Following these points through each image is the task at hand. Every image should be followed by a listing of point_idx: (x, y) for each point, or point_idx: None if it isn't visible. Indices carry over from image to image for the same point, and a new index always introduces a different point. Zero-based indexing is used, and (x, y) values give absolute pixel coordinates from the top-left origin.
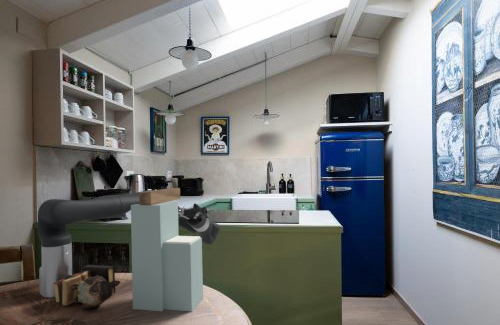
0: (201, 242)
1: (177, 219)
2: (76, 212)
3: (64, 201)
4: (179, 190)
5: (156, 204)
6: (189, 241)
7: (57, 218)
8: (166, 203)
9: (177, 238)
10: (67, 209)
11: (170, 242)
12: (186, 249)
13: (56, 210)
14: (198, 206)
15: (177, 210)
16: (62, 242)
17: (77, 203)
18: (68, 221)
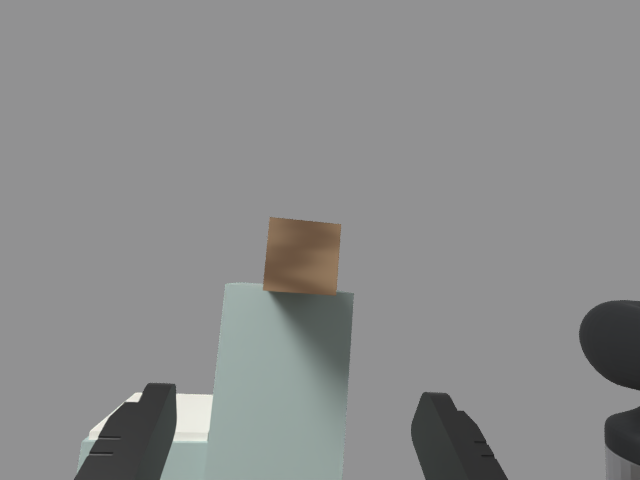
0: (80, 460)
1: (217, 366)
2: (621, 349)
3: (606, 304)
4: (268, 234)
5: (262, 284)
6: (137, 396)
7: (583, 350)
8: (241, 283)
9: (191, 412)
10: (598, 330)
11: (202, 396)
12: None
13: (581, 325)
14: (96, 448)
15: (221, 325)
16: (610, 439)
17: (630, 318)
18: (609, 373)
